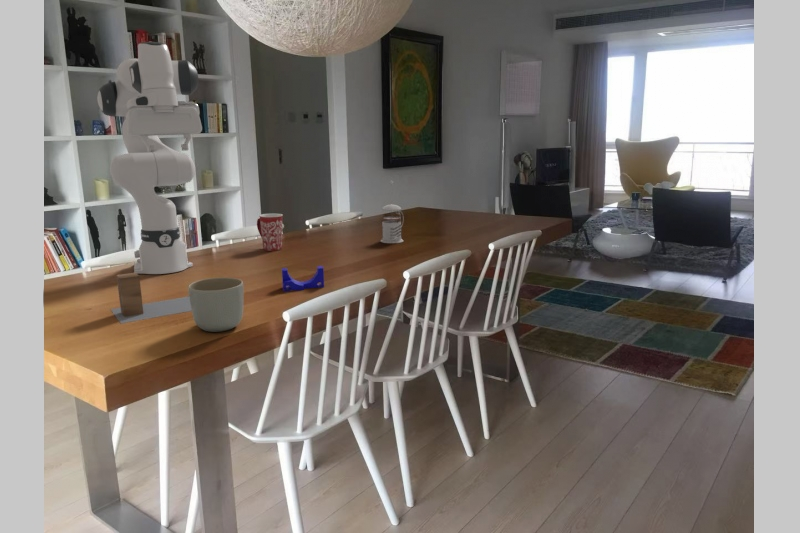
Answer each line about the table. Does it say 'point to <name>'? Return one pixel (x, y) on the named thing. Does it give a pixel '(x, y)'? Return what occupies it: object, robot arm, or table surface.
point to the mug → (270, 231)
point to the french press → (392, 224)
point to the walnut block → (130, 294)
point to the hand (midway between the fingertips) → (168, 151)
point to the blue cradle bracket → (299, 285)
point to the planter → (217, 303)
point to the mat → (157, 309)
